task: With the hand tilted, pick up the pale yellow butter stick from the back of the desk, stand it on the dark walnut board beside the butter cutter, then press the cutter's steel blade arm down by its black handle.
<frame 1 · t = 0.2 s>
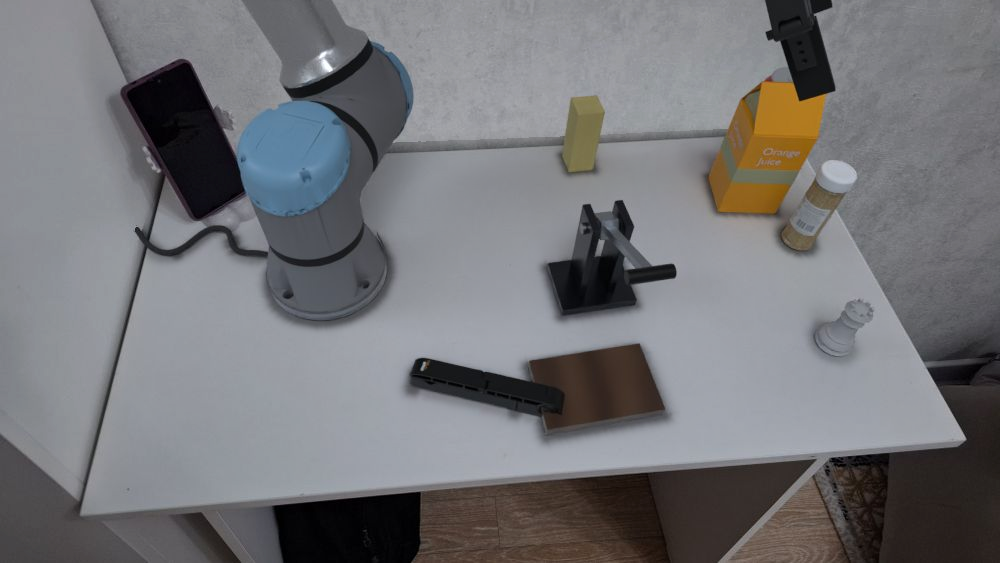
hand: (816, 50, 55), 36 cm above the table, tool tilted 35°, fingers open, 13 cm apart
cutter: (590, 286, 83), on the table
rook chess piece: (830, 343, 79), on the table
butter: (577, 162, 98), on the table
orange juice: (740, 195, 95), on the table
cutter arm: (625, 246, 68), point 15 cm above the table, hinge at 25.0°
board: (593, 390, 73), on the table
sprinkles bottle: (795, 240, 89), on the table
tablet stand: (486, 396, 72), on the table, touching board
soda can: (756, 161, 100), on the table
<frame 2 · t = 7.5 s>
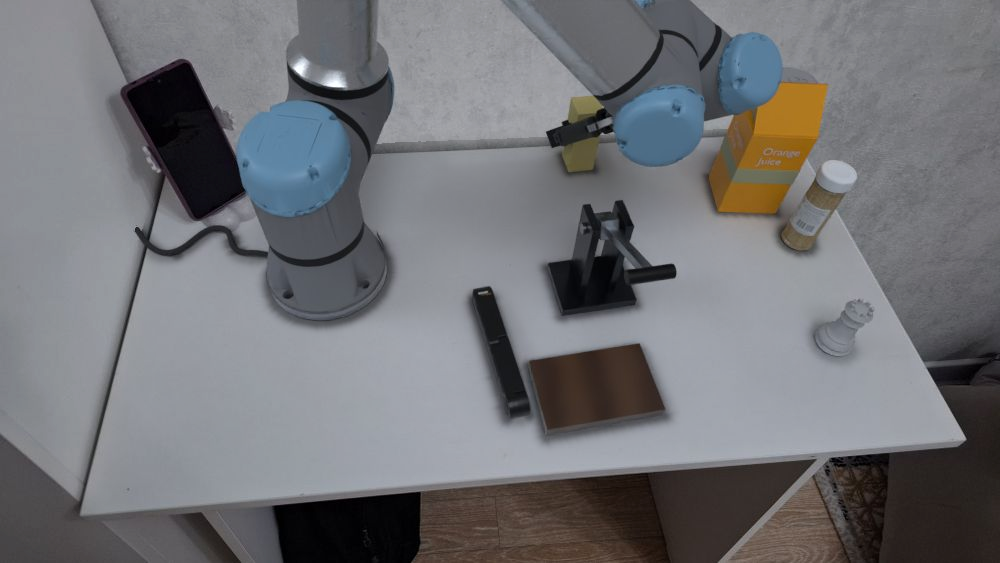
hand: (565, 132, 97), 3 cm above the table, tool tilted 45°, fingers closed on butter, 5 cm apart
butter: (577, 162, 98), on the table, touching gripper
tablet stand: (498, 355, 76), on the table
everything else where it was.
when the fingers open (5 cm above the table, at t = 21.0 s): butter stays where it is, resting on board.
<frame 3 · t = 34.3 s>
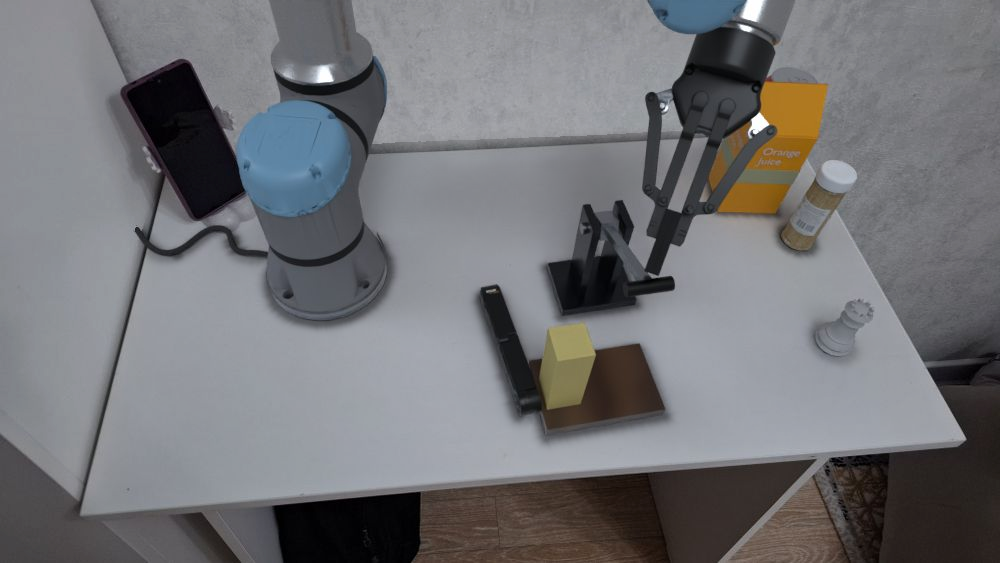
hand: (651, 272, 62), 17 cm above the table, tool tilted 45°, fingers closed
butter: (559, 391, 71), point 1 cm above the table, touching board
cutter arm: (624, 252, 68), point 14 cm above the table, hinge at 18.6°, touching gripper
tablet stand: (507, 353, 76), on the table, touching board
everything else where it was.
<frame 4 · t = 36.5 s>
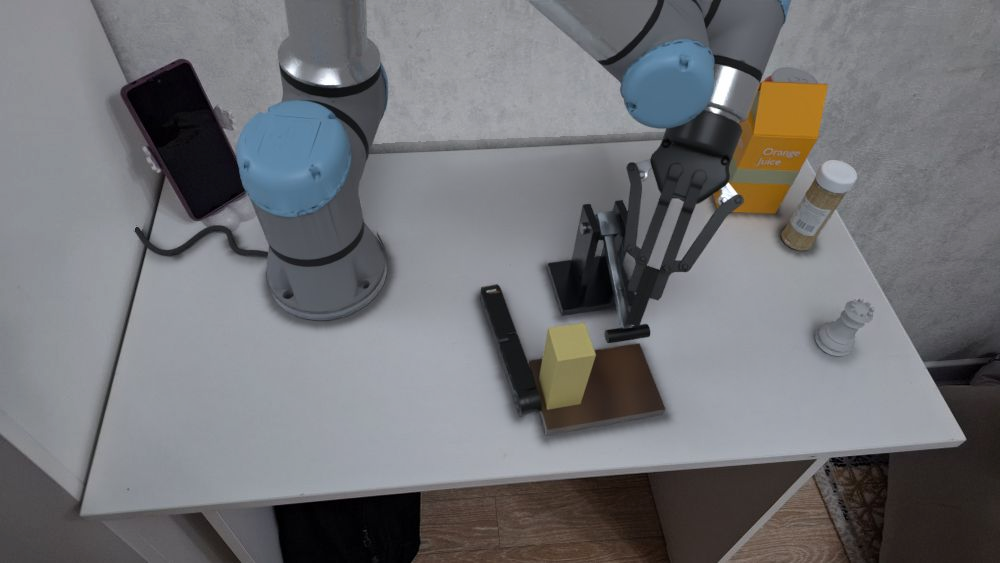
hand: (632, 322, 69), 9 cm above the table, tool tilted 45°, fingers closed
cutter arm: (615, 276, 72), point 9 cm above the table, hinge at -25.9°, touching gripper
tablet stand: (507, 353, 76), on the table
everything else where it was.
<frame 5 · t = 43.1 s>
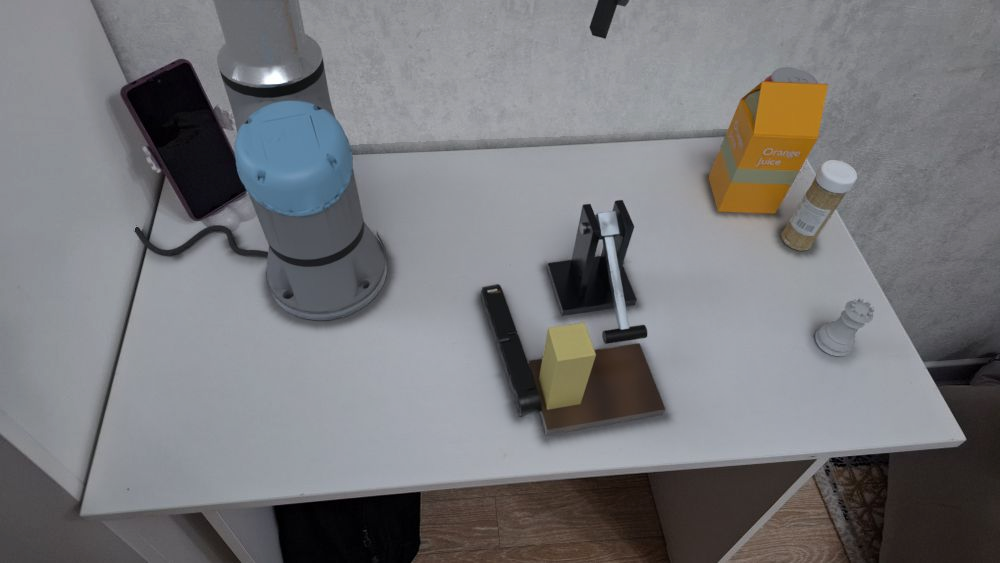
hand: (597, 33, 64), 31 cm above the table, tool tilted 45°, fingers closed
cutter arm: (614, 276, 73), point 9 cm above the table, hinge at -30.1°
everything else where it was.
at the end: butter inside the target area on the board (4.4 cm from its centre), point 1.5 cm above the board's base; butter tilted 0°; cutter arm at -30° (first picture: +25°) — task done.
